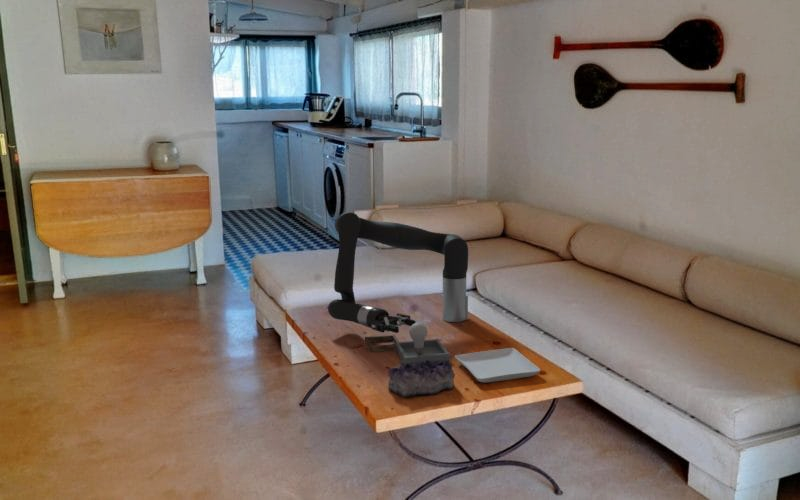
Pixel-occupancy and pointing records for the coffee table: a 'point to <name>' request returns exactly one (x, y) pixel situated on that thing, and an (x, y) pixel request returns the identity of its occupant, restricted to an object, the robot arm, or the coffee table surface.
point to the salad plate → (498, 365)
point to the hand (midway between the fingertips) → (406, 326)
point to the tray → (430, 352)
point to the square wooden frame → (381, 347)
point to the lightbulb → (418, 336)
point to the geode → (421, 378)
